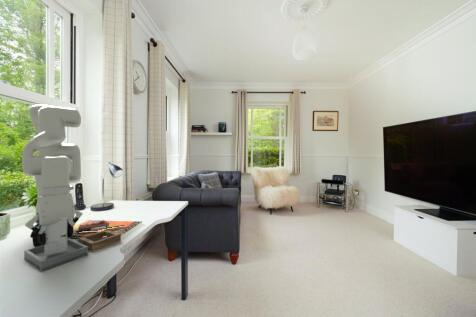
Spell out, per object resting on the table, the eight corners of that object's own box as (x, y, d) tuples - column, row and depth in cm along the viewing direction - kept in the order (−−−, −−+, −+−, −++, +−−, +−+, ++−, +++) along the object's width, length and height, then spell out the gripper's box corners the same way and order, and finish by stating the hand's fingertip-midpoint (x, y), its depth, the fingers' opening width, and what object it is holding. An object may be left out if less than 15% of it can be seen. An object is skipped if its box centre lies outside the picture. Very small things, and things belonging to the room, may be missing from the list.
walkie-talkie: (74, 237, 95) (124, 229, 105) (74, 227, 95) (124, 220, 105) (77, 230, 103) (123, 224, 113) (77, 221, 103) (123, 215, 113)
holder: (78, 245, 86) (78, 238, 86) (106, 236, 95) (106, 229, 95) (92, 251, 80) (91, 243, 80) (120, 241, 89) (120, 234, 89)
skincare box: (44, 255, 73) (43, 220, 72) (46, 250, 76) (46, 216, 76) (67, 250, 76) (66, 217, 76) (68, 246, 80) (67, 214, 79)
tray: (24, 258, 74) (24, 250, 74) (68, 245, 86) (68, 237, 86) (41, 271, 66) (41, 262, 66) (88, 254, 77) (88, 246, 77)
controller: (49, 240, 90) (49, 217, 90) (44, 251, 80) (44, 225, 80) (35, 243, 88) (35, 219, 88) (29, 254, 78) (28, 227, 78)
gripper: (78, 186, 85) (79, 230, 85) (18, 193, 70) (19, 246, 70) (88, 188, 81) (88, 234, 82) (26, 196, 66) (27, 252, 67)
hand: (56, 239), depth 76 cm, fingers closed on skincare box, 7 cm apart
